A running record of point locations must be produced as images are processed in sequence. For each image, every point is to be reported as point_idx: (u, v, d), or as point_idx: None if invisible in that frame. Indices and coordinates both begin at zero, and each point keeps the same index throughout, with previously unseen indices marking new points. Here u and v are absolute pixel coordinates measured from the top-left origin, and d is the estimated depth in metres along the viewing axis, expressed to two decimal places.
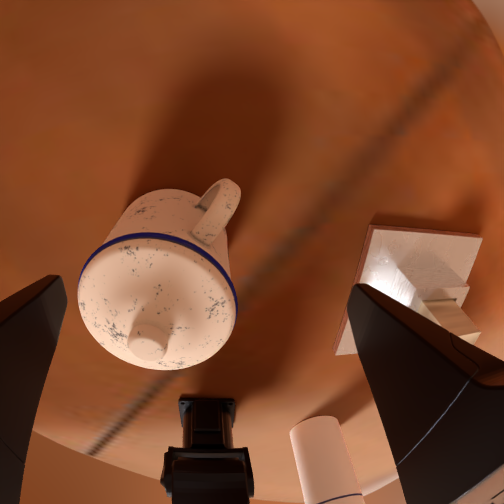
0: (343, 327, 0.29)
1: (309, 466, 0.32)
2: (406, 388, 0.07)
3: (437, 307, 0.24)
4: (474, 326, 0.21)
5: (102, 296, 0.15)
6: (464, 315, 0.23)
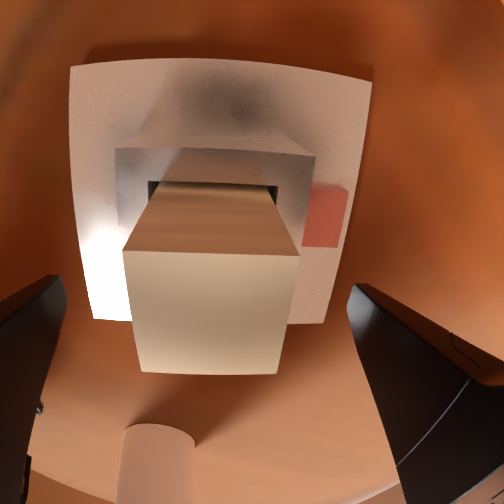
0: (85, 264, 0.16)
1: (119, 492, 0.19)
2: (406, 388, 0.07)
3: (188, 196, 0.10)
4: (280, 240, 0.08)
5: None
6: (269, 216, 0.09)
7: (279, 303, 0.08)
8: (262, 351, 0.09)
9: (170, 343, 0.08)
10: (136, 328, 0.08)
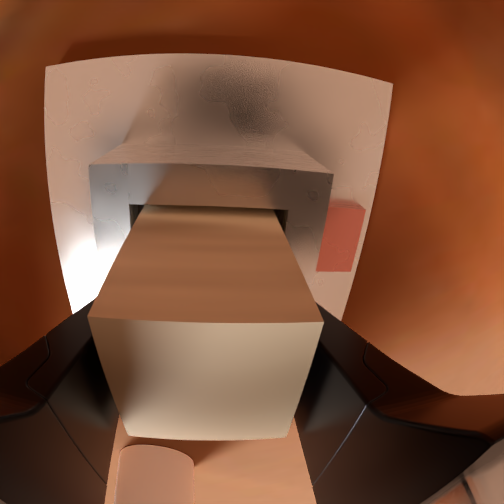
0: (69, 288, 0.14)
1: None
2: (314, 402, 0.06)
3: (177, 225, 0.08)
4: (296, 296, 0.06)
5: None
6: (280, 254, 0.07)
7: (293, 373, 0.06)
8: (270, 419, 0.07)
9: (159, 413, 0.06)
10: (117, 398, 0.06)
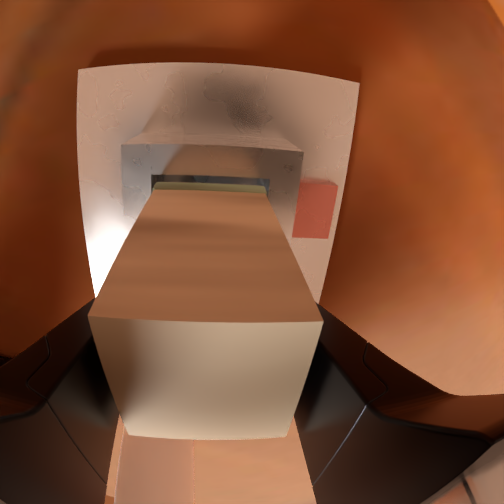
0: (90, 255, 0.17)
1: (119, 481, 0.20)
2: (314, 402, 0.06)
3: (178, 225, 0.08)
4: (296, 296, 0.06)
5: None
6: (280, 253, 0.07)
7: (293, 372, 0.06)
8: (270, 418, 0.07)
9: (159, 412, 0.06)
10: (117, 397, 0.06)
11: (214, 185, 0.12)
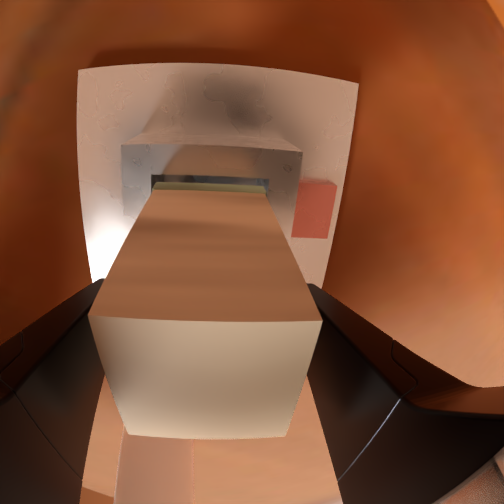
0: (90, 255, 0.17)
1: (119, 481, 0.20)
2: (342, 399, 0.06)
3: (177, 225, 0.08)
4: (295, 295, 0.06)
5: None
6: (279, 253, 0.07)
7: (292, 372, 0.06)
8: (269, 418, 0.07)
9: (158, 412, 0.06)
10: (117, 396, 0.06)
11: (214, 185, 0.12)
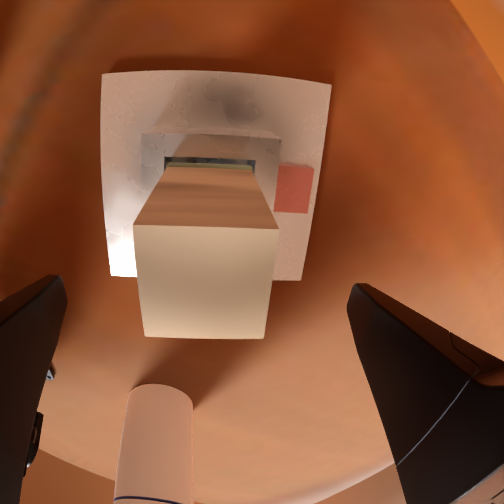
0: (107, 229, 0.20)
1: (123, 446, 0.23)
2: (406, 388, 0.07)
3: (187, 185, 0.12)
4: (264, 218, 0.09)
5: None
6: (257, 200, 0.11)
7: (263, 271, 0.09)
8: (250, 316, 0.10)
9: (170, 308, 0.10)
10: (142, 294, 0.09)
11: (213, 164, 0.15)
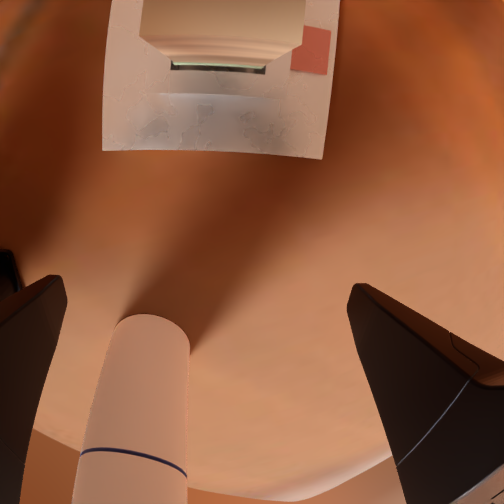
0: (104, 96, 0.16)
1: (98, 386, 0.19)
2: (406, 388, 0.07)
3: None
4: None
5: None
6: None
7: None
8: (284, 7, 0.06)
9: None
10: None
11: None
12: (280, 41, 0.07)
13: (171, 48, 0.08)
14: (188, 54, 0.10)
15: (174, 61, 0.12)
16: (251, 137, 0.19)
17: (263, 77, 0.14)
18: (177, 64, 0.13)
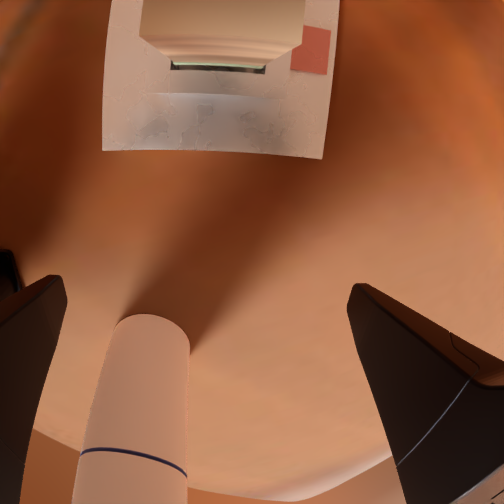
0: (104, 96, 0.16)
1: (98, 386, 0.19)
2: (406, 388, 0.07)
3: None
4: None
5: None
6: None
7: None
8: (283, 6, 0.06)
9: None
10: None
11: None
12: (280, 41, 0.07)
13: (171, 48, 0.08)
14: (188, 54, 0.10)
15: (174, 61, 0.12)
16: (251, 137, 0.19)
17: (263, 77, 0.14)
18: (177, 64, 0.13)
